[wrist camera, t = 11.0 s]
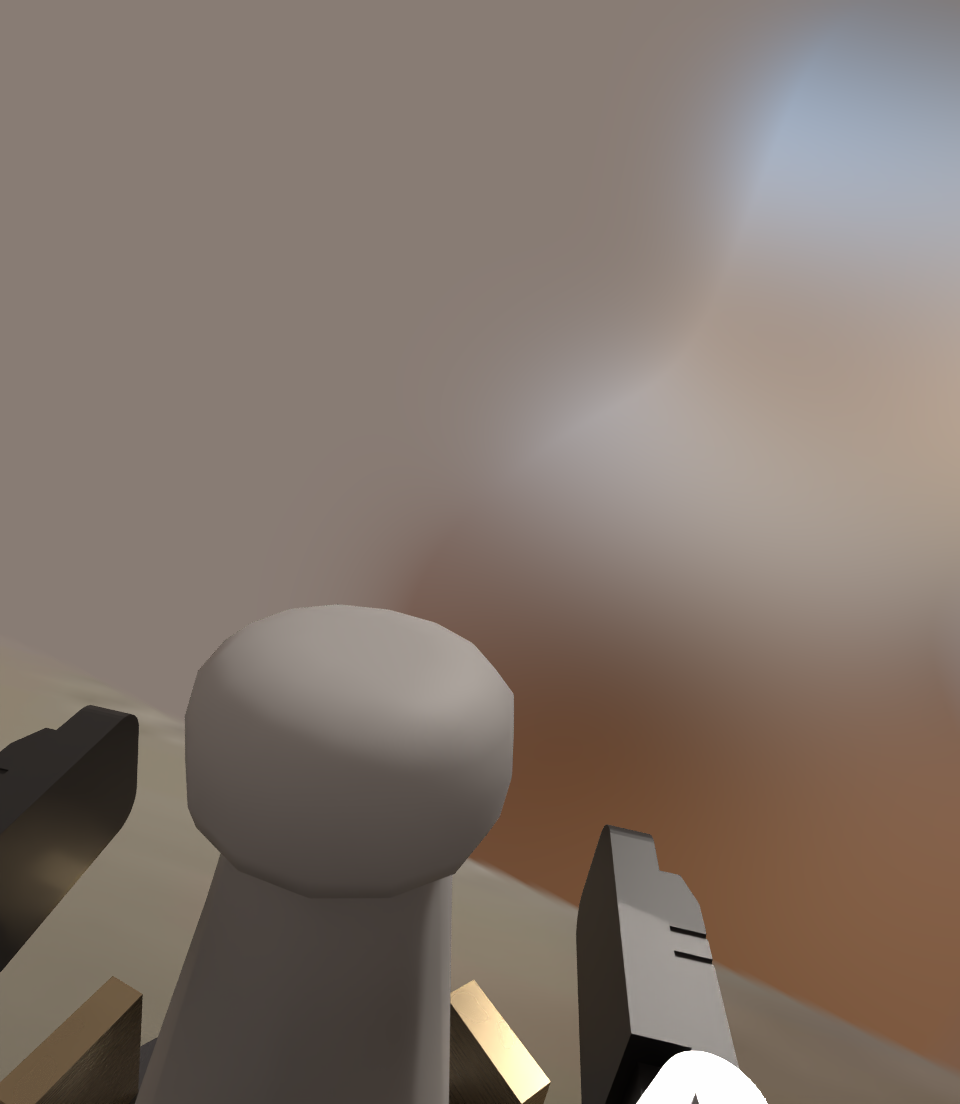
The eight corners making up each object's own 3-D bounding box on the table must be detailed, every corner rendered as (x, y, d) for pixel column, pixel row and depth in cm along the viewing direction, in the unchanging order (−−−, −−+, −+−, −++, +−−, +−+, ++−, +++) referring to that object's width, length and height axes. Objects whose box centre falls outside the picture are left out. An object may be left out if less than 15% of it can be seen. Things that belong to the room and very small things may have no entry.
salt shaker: (272, 1679, 9) (443, 888, 5) (5, 1355, 12) (-6, 633, 8) (478, 1228, 14) (640, 654, 11) (264, 1064, 17) (335, 542, 13)
